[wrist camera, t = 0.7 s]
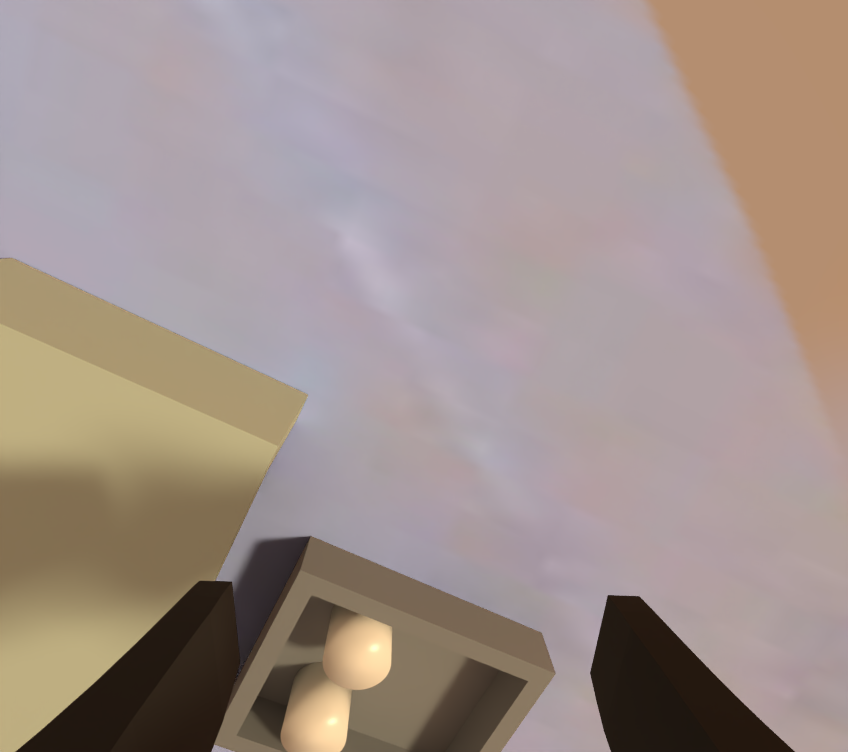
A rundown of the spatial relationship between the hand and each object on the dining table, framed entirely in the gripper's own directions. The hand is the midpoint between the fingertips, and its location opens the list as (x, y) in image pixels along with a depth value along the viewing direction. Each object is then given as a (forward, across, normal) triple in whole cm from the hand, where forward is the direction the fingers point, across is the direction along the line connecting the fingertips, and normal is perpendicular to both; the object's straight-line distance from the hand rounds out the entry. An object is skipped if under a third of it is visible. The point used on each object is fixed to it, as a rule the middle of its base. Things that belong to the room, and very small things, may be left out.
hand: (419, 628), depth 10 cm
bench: (+10, +13, +6) cm, 18 cm away
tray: (+10, +1, +12) cm, 16 cm away
